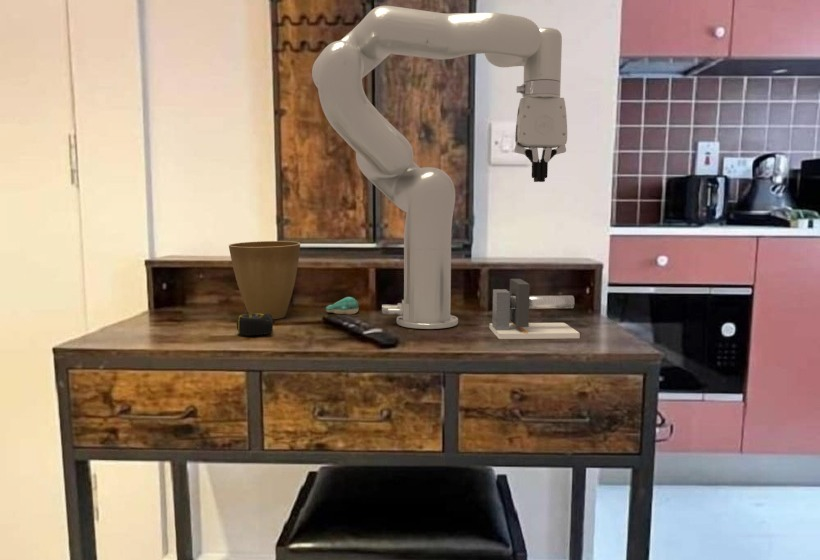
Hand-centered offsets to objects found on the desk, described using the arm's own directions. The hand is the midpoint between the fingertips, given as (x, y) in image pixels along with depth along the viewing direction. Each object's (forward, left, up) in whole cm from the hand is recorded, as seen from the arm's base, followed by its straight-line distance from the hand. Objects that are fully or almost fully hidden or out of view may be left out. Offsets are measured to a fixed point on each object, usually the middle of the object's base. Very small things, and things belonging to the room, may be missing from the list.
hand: (539, 181), depth 138 cm
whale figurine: (-42, +8, -30) cm, 52 cm away
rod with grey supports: (-5, -16, -29) cm, 34 cm away
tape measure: (-57, -14, -30) cm, 65 cm away
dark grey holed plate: (-7, -16, -27) cm, 32 cm away
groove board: (-5, -16, -29) cm, 34 cm away
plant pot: (-58, +3, -29) cm, 65 cm away
